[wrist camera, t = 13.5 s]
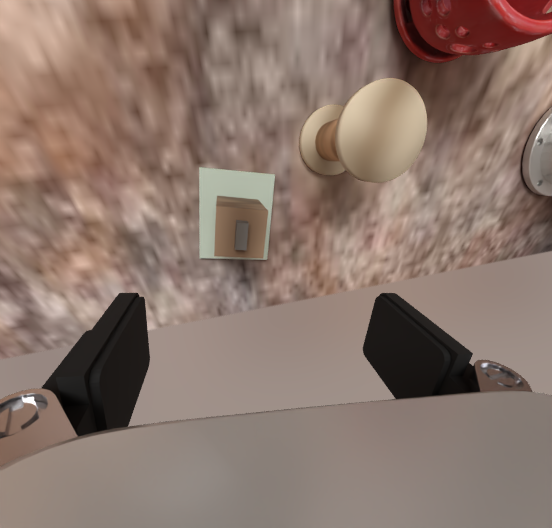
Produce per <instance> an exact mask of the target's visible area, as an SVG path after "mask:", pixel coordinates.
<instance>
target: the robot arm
mask: <svg viewBox="0 0 552 528" xmlns="http://www.w3.org/2000/svg"><path fill="white" fill-rule="evenodd" d="M522 169H523V176H524V180H525V182H526V184H527V186H528V187H529V189H530V190H531V191H533V192H534V193H536V194H539V195H544V196H552V107H551V108H550V109H549V110H548V111H547V112H546V113H545V114H544V115H543V117H542V118H541V119H540V121H539V122H538V123H537V125H536V126H535V128H534V130H533V131H532V133H531V135H530V137H529V140H528V142H527V144H526V148H525V151H524V155H523V162H522ZM363 353H364V355H365V357H366V358H367V360H368V361H369V362H370V364H371V365H372V366H373V368H374V369H375V370H376V372H377V373H378V375H379V376H380V378H381V379H382V380H383V382H384V383H385V385H386V386H387V387H388V389H389V390H390V392H391V393H392V394H393V395H394V397H395V398H396V399H392V400H382V401H370V402H359V403H349V404H338V405H327V406H317V407H306V408H296V409H286V410H276V411H266V412H256V413H246V414H236V415H227V416H216V417H206V418H197V419H186V420H176V421H166V422H159V423H152V424H144V425H137V426H130V427H128V425H129V422H130V419H131V416H132V413H133V410H134V407H135V404H136V401H137V399H138V396H139V393H140V390H141V387H142V384H143V382H144V378H145V376H146V373H147V370H148V367H149V361H150V355H149V343H148V332H147V320H146V308H145V299H144V297H139V294H138V293H119V294H118V296H117V297H116V298H115V300H114V301H113V302H112V304H111V305H110V306H109V307H108V309H107V310H106V311H105V313H104V314H103V315H102V317H101V318H100V319H99V321H98V322H97V323H96V325H95V326H94V327H93V329H92V330H89V331H86V332H85V333H84V334H83V335H82V337H81V338H80V339H79V341H78V342H77V343H76V344H75V346H74V347H73V348H72V349H71V351H70V352H69V353H68V355H67V356H66V357H65V358H64V360H63V361H62V362H61V364H60V365H59V366H58V368H57V369H56V370H55V371H54V373H53V374H52V375H51V376H50V378H49V379H48V380H47V381H46V383H45V384H44V385H43V387H42V388H41V389H28V390H23V391H19V392H16V393H14V394H11V395H8V396H6V397H4V398H2V399H0V528H552V395H548V394H543V393H535V392H532V390H531V388H530V386H529V384H528V383H527V381H526V380H525V379H524V378H523V377H522V376H521V375H519V374H518V373H516V372H515V371H513V370H512V369H510V368H508V367H506V366H504V365H501V364H499V363H496V362H493V361H489V360H478V361H476V362H475V364H474V366H472V365H471V364H470V363H469V361H470V359H471V357H472V354H473V353H471V352H470V351H469V350H468V349H466V348H465V347H464V346H462V345H461V344H460V343H459V342H457V341H456V340H455V339H454V338H452V337H451V336H450V335H449V334H447V333H446V332H445V331H443V330H442V329H441V328H439V327H438V326H437V325H436V324H434V323H433V322H432V321H431V320H429V319H428V318H427V317H425V316H424V315H423V314H422V313H420V312H419V311H418V310H416V309H415V308H414V307H412V306H411V305H410V304H409V303H407V302H406V301H405V300H404V299H402V298H401V297H399V296H398V295H397V294H395V293H382V294H380V295H379V296H378V297H377V298H376V300H375V303H374V307H373V311H372V315H371V319H370V323H369V327H368V331H367V334H366V338H365V342H364V346H363Z"/></svg>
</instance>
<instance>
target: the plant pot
mask: <svg viewBox="0 0 552 528" xmlns="http://www.w3.org/2000/svg"><path fill="white" fill-rule="evenodd" d="M551 6H552V0H394V13H395V19H396V23H397V27H398V30H399V33H400V35H401V37H402V39H403V41H404V43H405V44H406V46H407V47H408V48H409V50H410V51H411V52H412V53H413V54H415V55H416V56H417V57H419V58H421V59H423V60H425V61H428V62H433V63H442V62H448V61H451V60H454V59H456V58H459V57H460V56H462V55H479V54H486V53H491V52H496V51H500V50H503V49H507V48H511V47H515V46H518V45H522V44H525V43H528V42H531V41H534V40H536V39H539V38H541V37H544V36H547V35H549V34H552V12H550V13H547V14H546V12H547V11H548V10H549V8H550V7H551Z"/></svg>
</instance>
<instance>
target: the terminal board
mask: <svg viewBox="0 0 552 528" xmlns="http://www.w3.org/2000/svg"><path fill="white" fill-rule="evenodd" d="M274 180H275V175H274V174H265V173H255V172H244V171H234V170H224V169H213V168H203V167H199V194H200V258H213V259H250V260H267V255H268V245H269V234H270V223H271V212H272V201H273V191H274ZM217 196H227V197H237V198H248V199H258V200H259V201H260V202H261V203H262V204H263V205H264V207H265V208H266V209H267V210H268V219H267V228H266V237H265V247H264V256H263V259H262V258H240V257H218V256H214V248H215V222H216V202H217Z"/></svg>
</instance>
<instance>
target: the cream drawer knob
mask: <svg viewBox="0 0 552 528" xmlns="http://www.w3.org/2000/svg"><path fill="white" fill-rule="evenodd" d="M426 132H427V114H426V109H425V105H424V103H423V100H422V98H421V96H420V95H419V93H418V92H417V90H416V89H415V88H414V87H413V86H411V85H410V84H409V83H407V82H405V81H403V80H400V79H396V78H384V79H380V80H377V81H375V82H372V83H370V84H368V85H366V86H364V87H363V88H361V89H359V90H358V91H357V92H356V93H354V94H353V95H352V97H351V98H350V99H349V100H348V101H347V103H346V104H345V106H341V105H335V104H334V105H327V106H324V107H322V108H320V109H318V110H316V111H315V112H314V113H312V114H311V115H310V116H309V117H308V119H307V120H306V121H305V123H304V125H303V127H302V130H301V133H300V138H299V148H300V153H301V156H302V158H303V160H304V162H305V163H306V165H307V166H308V167H309V168H310V169H311V170H313V171H314V172H316V173H319V174H323V175H337V174H340V173H342V172H344V171H347V172H348V173H349V174H350V175H352V176H353V177H355V178H357V179H359V180H362V181H367V182H373V183H382V182H387V181H390V180H393V179H395V178H397V177H398V176H400V175H401V174H403V173H404V172H405V171H406V170H407V169H409V168H410V166H411V165H412V164H413V163H414V161H415V160H416V159H417V157H418V155H419V153H420V151H421V149H422V147H423V144H424V141H425V137H426Z"/></svg>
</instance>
